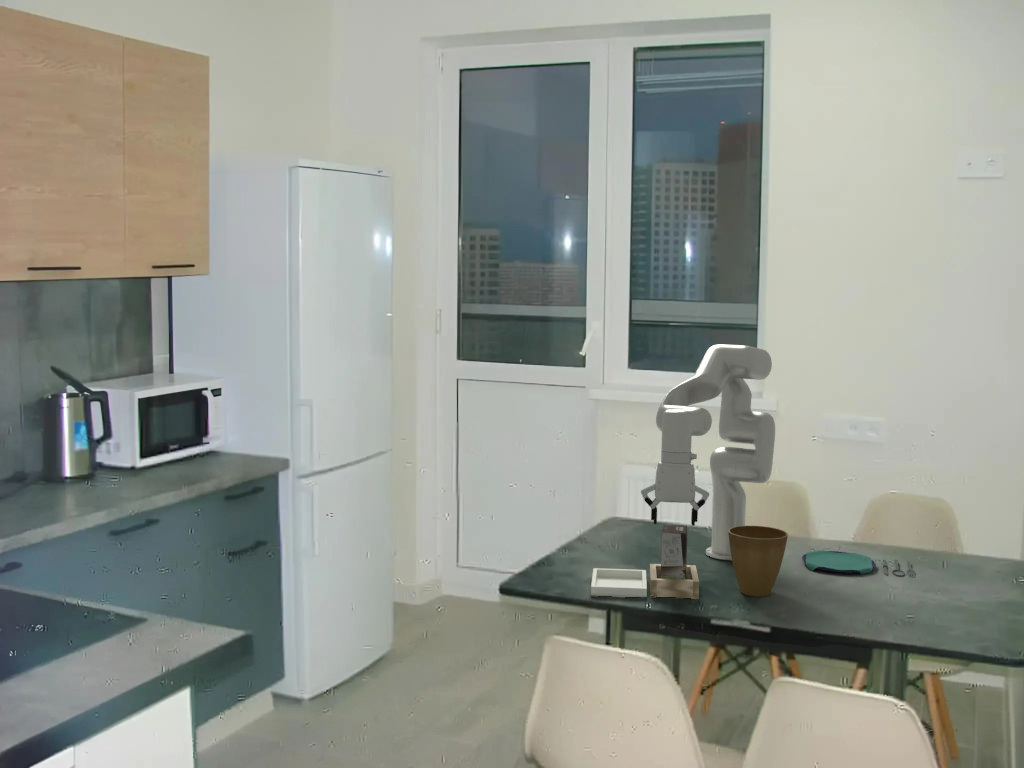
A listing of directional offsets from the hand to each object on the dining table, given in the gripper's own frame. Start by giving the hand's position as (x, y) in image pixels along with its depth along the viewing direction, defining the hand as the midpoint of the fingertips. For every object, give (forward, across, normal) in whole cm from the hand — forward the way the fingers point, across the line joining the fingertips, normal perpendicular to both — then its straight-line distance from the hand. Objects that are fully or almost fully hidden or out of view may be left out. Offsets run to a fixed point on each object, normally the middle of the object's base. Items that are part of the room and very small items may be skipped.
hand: (674, 523), depth 275 cm
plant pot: (+17, -21, -1) cm, 28 cm away
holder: (+17, 0, -1) cm, 17 cm away
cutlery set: (+17, -52, -29) cm, 62 cm away
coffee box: (+18, 0, -1) cm, 18 cm away
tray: (+18, +14, -1) cm, 22 cm away
